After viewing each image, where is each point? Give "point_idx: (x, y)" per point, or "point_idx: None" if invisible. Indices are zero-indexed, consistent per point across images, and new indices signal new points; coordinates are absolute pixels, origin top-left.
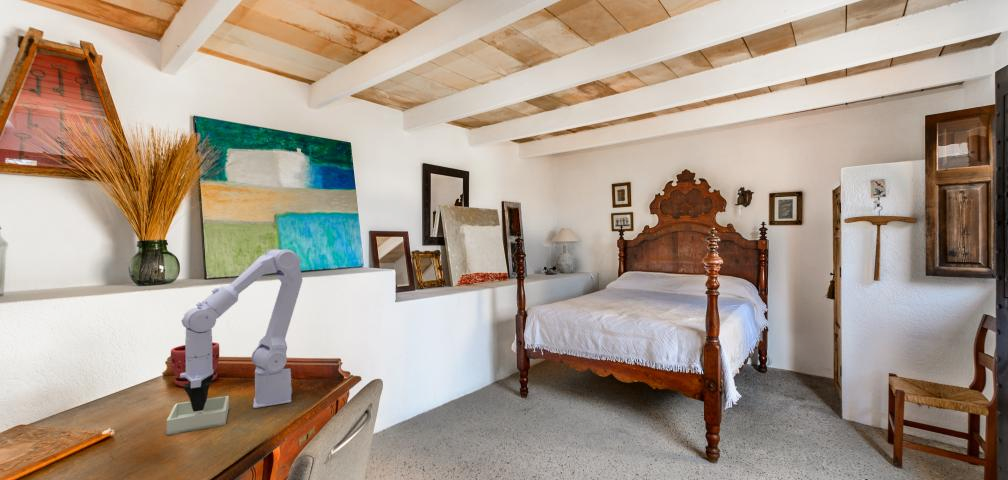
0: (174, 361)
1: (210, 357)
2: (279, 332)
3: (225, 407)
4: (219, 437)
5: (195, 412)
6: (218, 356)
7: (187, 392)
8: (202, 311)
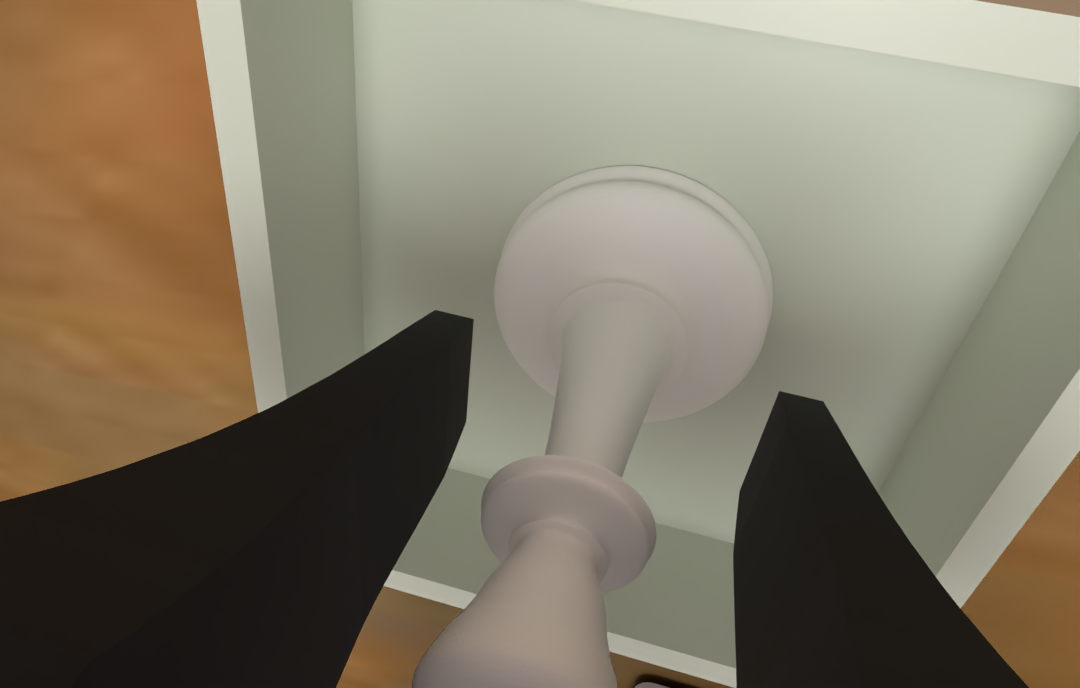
0: None
1: None
2: None
3: (394, 585)
4: (88, 349)
5: (590, 315)
6: None
7: (10, 512)
8: None
